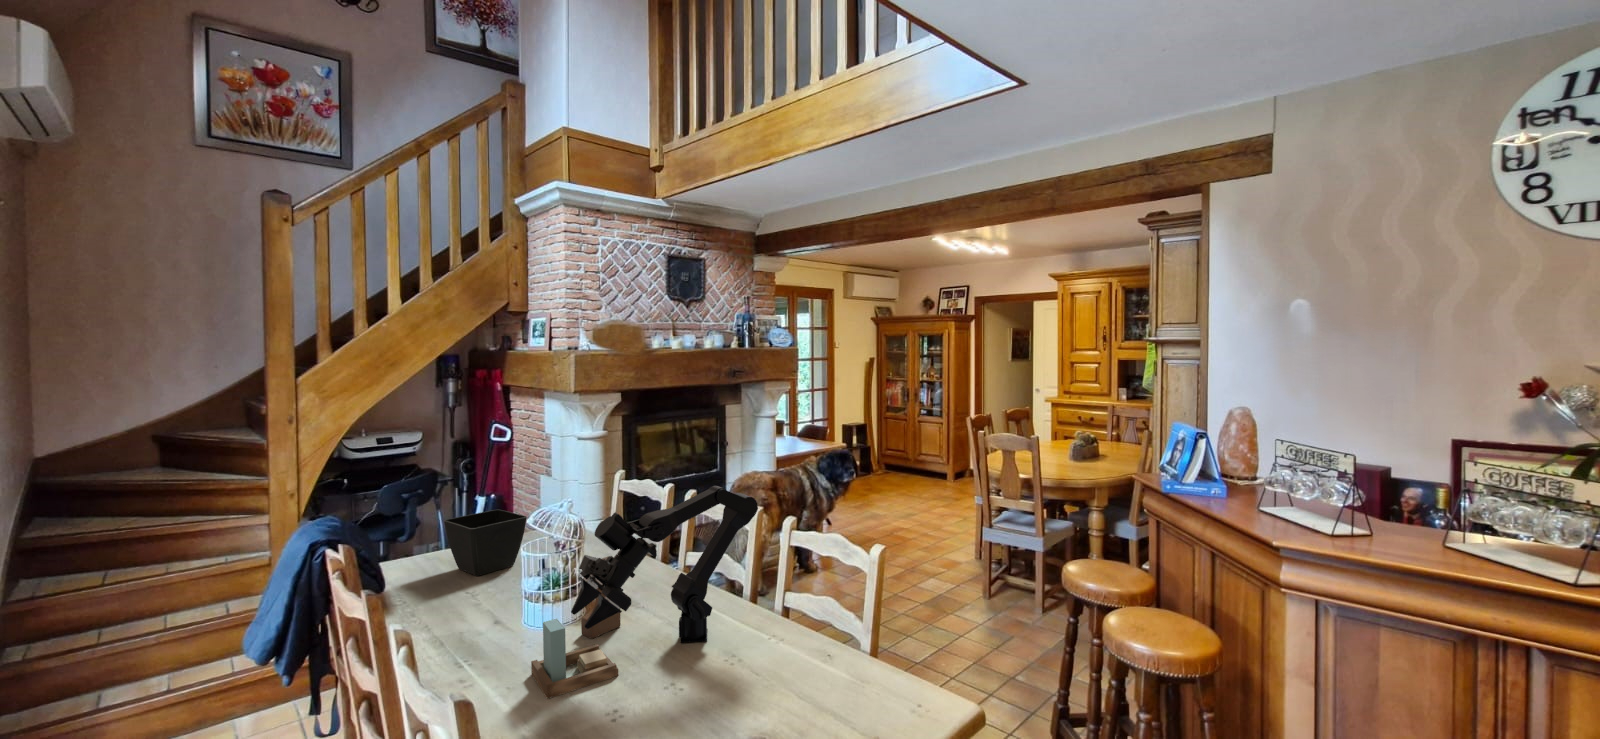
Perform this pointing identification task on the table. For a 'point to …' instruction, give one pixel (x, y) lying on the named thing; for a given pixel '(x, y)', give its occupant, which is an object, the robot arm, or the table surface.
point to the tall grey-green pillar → (554, 650)
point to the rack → (575, 681)
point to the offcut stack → (591, 661)
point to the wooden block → (601, 626)
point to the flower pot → (485, 540)
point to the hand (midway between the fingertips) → (578, 620)
